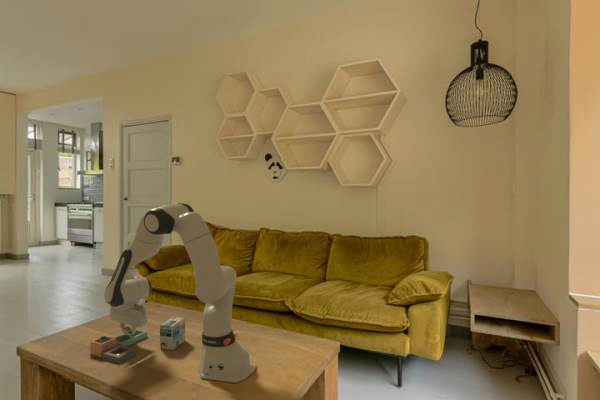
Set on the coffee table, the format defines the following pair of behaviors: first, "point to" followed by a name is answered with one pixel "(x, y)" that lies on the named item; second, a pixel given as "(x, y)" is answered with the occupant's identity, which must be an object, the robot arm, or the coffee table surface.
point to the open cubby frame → (101, 346)
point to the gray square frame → (121, 357)
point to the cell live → (127, 333)
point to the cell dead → (103, 339)
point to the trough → (135, 337)
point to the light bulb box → (172, 333)
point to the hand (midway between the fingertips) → (128, 332)
